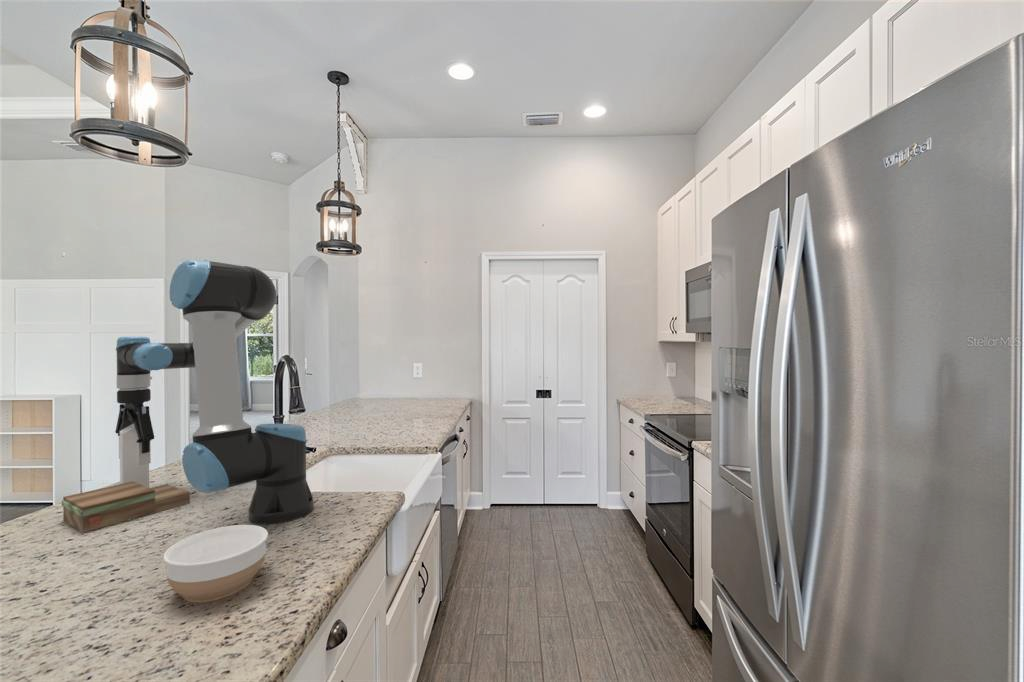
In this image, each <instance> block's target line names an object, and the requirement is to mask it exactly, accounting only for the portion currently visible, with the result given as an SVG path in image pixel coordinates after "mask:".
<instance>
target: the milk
mask: <svg viewBox="0 0 1024 682" xmlns="http://www.w3.org/2000/svg"><path fill="white" fill-rule="evenodd" d="M119 437H120V459H119V484H124V483H128V482H136V483H138V484H141V485H143V486H146V487H148V488H150V463H149V464H144V465H138V443H137V440H138V439H139V438H138V435H137V432H136V429H135V426H134V424H132V425H130V426H128V427H126V428H125V429H123V430H121V431H120V436H119Z"/></svg>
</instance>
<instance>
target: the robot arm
mask: <svg viewBox="0 0 1024 682" xmlns="http://www.w3.org/2000/svg"><path fill="white" fill-rule="evenodd" d="M169 299H170V302H171V305H172V306H173V307H174V308H176V309H178V310H182V318H183V319H184V320H185V321H187V322H188V323H190V325H191V330H192V331H191V332H192V342H175V343H174V342H161V343H160V342H151V340H150V338H149V337H148V336H120V337H118V338H117V340H116V348H115V351H116V389H119V390H117V391H116V403H117V404H119V411H118V412H119V413H118V416H117V423H116V427H115V431H114V432H115V434H116V435H117V436H118V459H119V460H120V431H121V430H123V429H125V428H126V427H128V426H130V425H132V424H134V426H135V429H136V432H137V435H138V438H139V439H138V440H137V443H138V465H144V464H149V465H150V464H151V461H152V459H151V455H152V454H151V441H152V440H154V439H155V433H154V428H153V425H152V424H153V423H152V420H151V415H150V406H149V405H148V406H147V405H146V406H144V403H147V402H150V401H151V398H152V397H151V389H150V387H151V380H152V379H153V376H151V372H152V371H160V370H171V369H184V368H185V369H187V368H188V369H189V368H190V369H191V368H193V369H195V370H194V371H195V379H196V381H195V383H196V394H197V395H196V396H197V408H198V420H199V427H198V428H197V429H196V430H195V432H193V434H192V442H191V443H189V444H187V445H186V446H185V447H184V449H183V450H182V453H183V454H182V456H181V460H182V461H181V462H182V469H183V472H184V474H185V477H186V479H187V481H188V482H189V483H190V485H191V486H192V488H194V489H195V490H196V491H197V492H199V493H204V494H208V493H213V492H217V491H218V492H219V491H226V490H227V489H229V488H234V487H237V486H240V485H244V484H248V483H252V482H254V481H255V488H254V492H253V494H252V498H251V500H250V504H249V507H248V513H247V514H248V515H247V516H248V517H247V519H248V520H249V522H251V523H255V524H258V525H259V524H262V525H263V524H264V525H266V524H267V525H268V524H269V525H270V524H278V523H279V524H281V523H285V522H290V521H293V520H296V519H300V518H302V517H304V516H306V515H308V514H310V513H312V511H313V510H314V504H315V503H314V497H313V495H312V492H311V489H310V486H309V484H308V481H307V443H308V442H307V436H306V429H305V428H304V426H302V425H301V424H300V425H299V424H295V423H293V424H292V423H261V424H260V423H259V424H258V425H256V426H255V429H254V432H252V425H250V424H249V423H248V422H246V421H245V420H244V415H243V414H244V413H243V404H242V403H243V402H242V390H241V380H240V368H239V358H238V356H239V355H238V345H237V338H238V337H239V336H241V334H243V332H244V331H246V329H248V328H249V327H250V326H251V325H252V324H253V323H254V322H255V321H261V320H263V319H265V317H266V316H268V315H269V313H271V311H272V309H274V306H275V305H276V301H277V289H276V287H275V284H274V282H273V280H272V279H271V278H270V277H269V275H267V274H266V273H265V272H264V271H262V270H261V269H259V268H256V267H252V266H247V265H239V264H238V265H237V264H232V263H231V264H230V263H225V262H218V261H212V260H211V261H210V260H208V259H203V260H201V259H186V260H184V261H182V262H181V263H179V264H178V266H177V267H176V268H175V270H174V272H173V274H172V277H171V281H170V285H169Z"/></svg>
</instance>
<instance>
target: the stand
mask: <svg viewBox="0 0 1024 682" xmlns="http://www.w3.org/2000/svg"><path fill="white" fill-rule="evenodd" d="M190 494H191V493H190V491H187V490H184V489H182V488H178V487H176V486H173V485H170V484H168V483H165V484H162V485H158V486H155V487H154V486H153V487H149V488H148V487H146V486H143V485H141V484H138V483H136V482H128V483H124V484H120V483H119V484H116V485H111V486H106V487H102V488H97V489H93V490H88V491H85V492H79V493H75V494H70V495H66V496H63V498H62V500H61V506H62V507H63V509H62V510H63V513H62V514H63V522H65V523H66V524H68V525H69V526H71V527H73V529H76V530H77V531H79V532H81V533H83V534H84V532H85V533H88V532H92V531H95V530H99V529H102V528H101V527H103V528H106V527H110V526H112V525H111V524H113V525H117V524H119V522H120V523H123V522H122V521H124V522H126V520H128V521H130V520H129V519H131V520H134V519H133V518H135V519H137V518H136V517H138V518H141V517H140V516H142V517H145V516H148V515H147V514H149V515H152V514H151V513H153V514H156V513H159V512H162V511H166V510H170V509H173V508H176V507H177V506H178V507H180V505H181V506H184V504H185V505H187V503H188V504H190V503H191V499H190V498H191V495H190ZM178 507H177V508H178ZM144 515H145V516H144ZM116 523H117V524H116ZM109 525H110V526H109ZM105 526H106V527H105ZM98 528H99V529H98ZM94 529H95V530H94ZM91 530H92V531H91ZM87 531H88V532H87Z"/></svg>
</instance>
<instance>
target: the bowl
mask: <svg viewBox="0 0 1024 682" xmlns="http://www.w3.org/2000/svg"><path fill="white" fill-rule="evenodd" d="M268 537H269V531H267V529H266V528H264V527H262V526H260V525H255V524H236V525H235V524H234V525H226V526H221V527H217V528H216V527H215V528H212V529H211V528H210V529H208V530H204V531H201V532H197V533H195V534H191V535H189V536H187V537H186V538H183V539H181V540H178V541H177V542H175V543H174V544H172V545H171V546H169V547H168V549H166V550H165V552H164V554H163V560H164V563H165V564H166V569H165V570H166V579H167V583H168V585H169V586H170V587H171V589H172V590H173V591H174V593H175V592H176V593H177V594H179V595H180V596H182V598H183V600H185V601H186V600H187V601H186V602H189V601H190V602H189V603H196V602H199V603H208V602H212V601H213V602H214V601H217V600H222V599H225V598H228V597H230V596H233V595H235V594H236V593H238V592H240V591H242V590H243V589H245V588H247V586H248V585H250V584H251V582H252V580H253V578H254V576H255V575H257V573H258V572H259V571H260V569H261V567H262V565H263V564H264V561H265V558H266V557H265V556H266V552H267V539H268ZM227 596H228V597H227ZM221 598H222V599H221Z"/></svg>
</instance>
